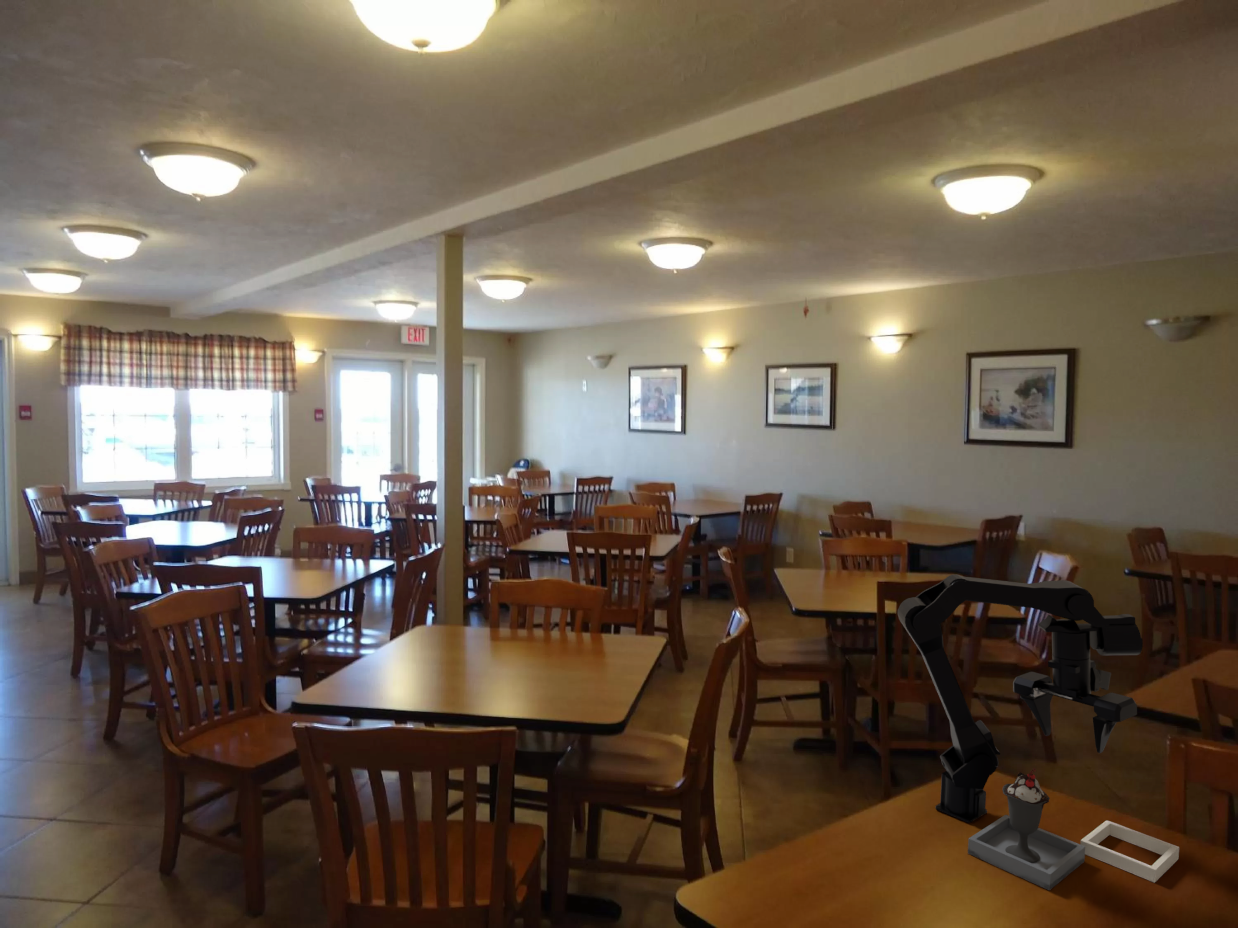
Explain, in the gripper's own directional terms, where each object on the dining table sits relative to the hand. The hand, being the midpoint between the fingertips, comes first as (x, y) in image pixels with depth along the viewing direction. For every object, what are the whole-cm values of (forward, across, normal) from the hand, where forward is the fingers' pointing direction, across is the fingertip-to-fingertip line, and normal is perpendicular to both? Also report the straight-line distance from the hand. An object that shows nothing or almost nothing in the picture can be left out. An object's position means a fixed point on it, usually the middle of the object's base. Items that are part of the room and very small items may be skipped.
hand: (1073, 743), depth 140 cm
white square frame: (+14, -11, +4) cm, 18 cm away
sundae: (+12, -3, +20) cm, 23 cm away
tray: (+13, -3, +19) cm, 23 cm away
